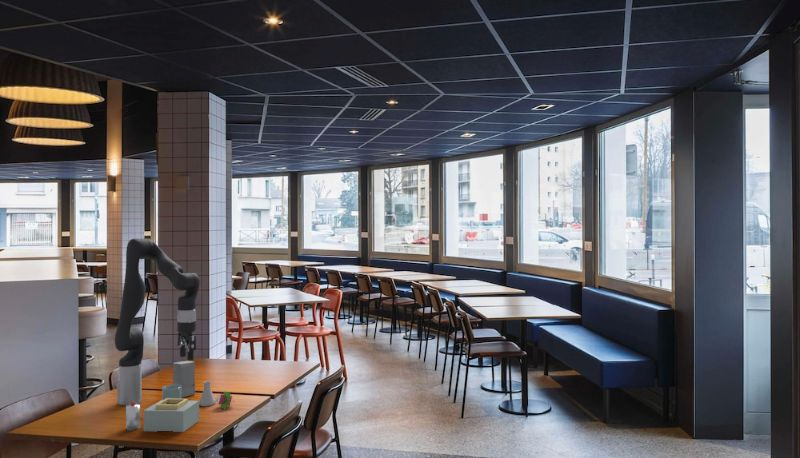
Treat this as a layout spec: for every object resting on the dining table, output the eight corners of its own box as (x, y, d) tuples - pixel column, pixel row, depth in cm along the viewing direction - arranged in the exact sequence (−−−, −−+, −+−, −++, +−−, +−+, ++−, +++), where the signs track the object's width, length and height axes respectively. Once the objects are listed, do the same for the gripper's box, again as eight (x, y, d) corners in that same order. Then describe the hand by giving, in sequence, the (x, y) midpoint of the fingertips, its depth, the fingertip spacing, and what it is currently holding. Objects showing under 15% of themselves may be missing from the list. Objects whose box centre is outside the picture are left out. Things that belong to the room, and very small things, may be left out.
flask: (210, 407, 255) (210, 384, 255) (195, 406, 256) (195, 383, 257) (218, 402, 262) (218, 380, 262) (204, 401, 264) (204, 379, 264)
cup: (163, 413, 246) (163, 390, 246) (161, 408, 253) (161, 385, 253) (182, 410, 250) (182, 387, 250) (180, 406, 257) (180, 383, 257)
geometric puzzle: (229, 398, 261) (220, 386, 257) (240, 400, 257) (231, 388, 253) (219, 411, 256) (210, 399, 252) (230, 413, 252) (221, 401, 248)
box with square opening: (143, 431, 224) (143, 406, 224) (161, 419, 238) (161, 396, 238) (183, 432, 223) (183, 407, 223) (199, 420, 237) (199, 397, 237)
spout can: (123, 430, 225) (123, 403, 226) (130, 426, 230) (130, 399, 231) (135, 430, 225) (135, 403, 225) (142, 426, 230) (142, 399, 230)
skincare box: (180, 398, 268) (179, 364, 268) (171, 396, 272) (171, 362, 273) (196, 394, 275) (196, 361, 275) (187, 392, 279) (187, 359, 279)
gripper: (171, 319, 248) (171, 357, 248) (184, 323, 237) (184, 362, 237) (189, 317, 253) (188, 354, 253) (202, 321, 242) (202, 360, 242)
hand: (186, 358), depth 245 cm, fingers open, 8 cm apart
